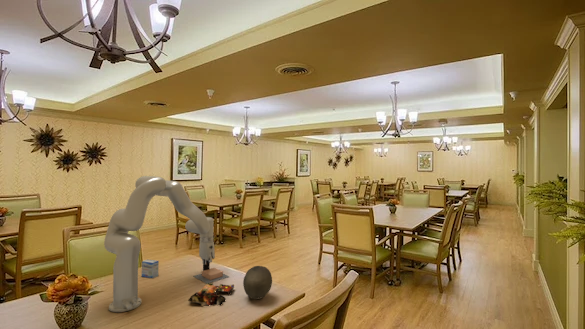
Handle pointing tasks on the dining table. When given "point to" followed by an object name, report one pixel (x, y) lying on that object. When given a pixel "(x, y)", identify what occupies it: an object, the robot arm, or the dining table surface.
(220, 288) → the food
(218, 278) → the mat
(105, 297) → the dining table surface
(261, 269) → the dark round vase
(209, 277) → the tile
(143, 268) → the medicine box
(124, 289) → the robot arm
